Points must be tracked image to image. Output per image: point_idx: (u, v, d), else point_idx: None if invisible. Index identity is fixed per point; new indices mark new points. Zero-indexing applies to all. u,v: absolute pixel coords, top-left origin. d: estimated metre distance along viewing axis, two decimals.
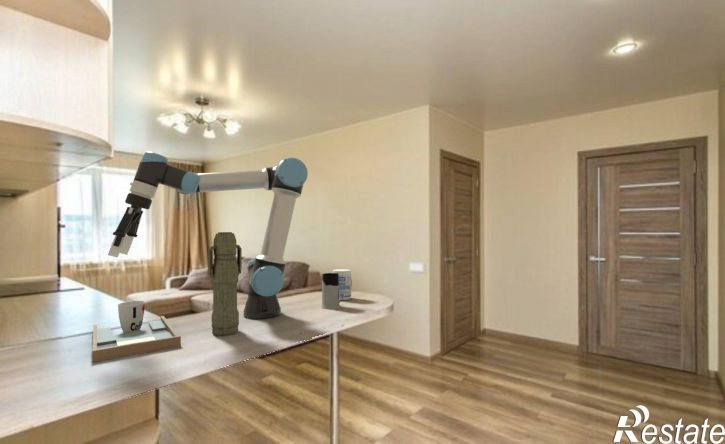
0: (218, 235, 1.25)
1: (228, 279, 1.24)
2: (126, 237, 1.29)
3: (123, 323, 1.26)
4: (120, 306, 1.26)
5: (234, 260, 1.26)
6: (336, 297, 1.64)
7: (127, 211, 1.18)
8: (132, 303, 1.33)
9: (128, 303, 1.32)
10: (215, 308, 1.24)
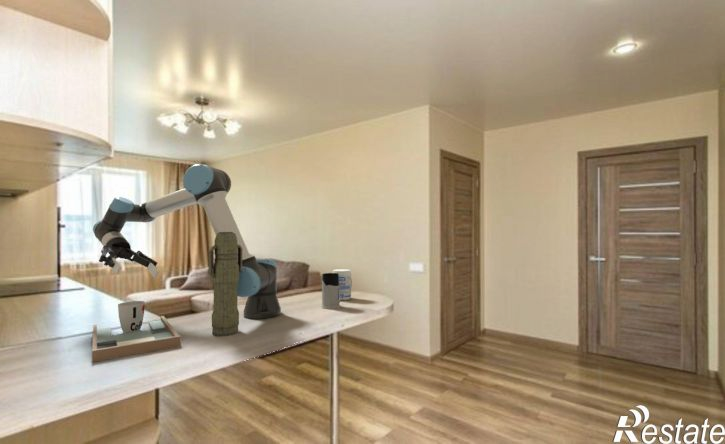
0: (219, 235, 1.25)
1: (229, 279, 1.24)
2: (148, 268, 1.40)
3: (123, 323, 1.26)
4: (120, 306, 1.26)
5: (235, 260, 1.26)
6: (336, 297, 1.64)
7: (102, 251, 1.33)
8: (132, 303, 1.33)
9: (128, 303, 1.32)
10: (215, 308, 1.24)
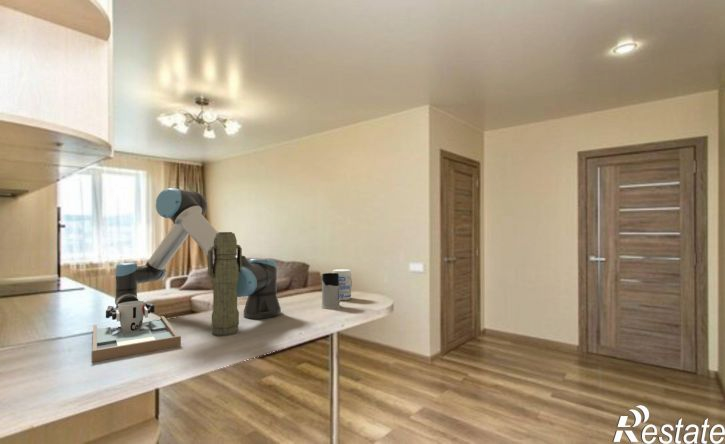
0: (218, 235, 1.25)
1: (229, 279, 1.24)
2: None
3: (123, 323, 1.26)
4: (120, 306, 1.26)
5: (234, 260, 1.26)
6: (336, 297, 1.64)
7: None
8: (132, 303, 1.33)
9: (128, 303, 1.32)
10: (215, 308, 1.24)
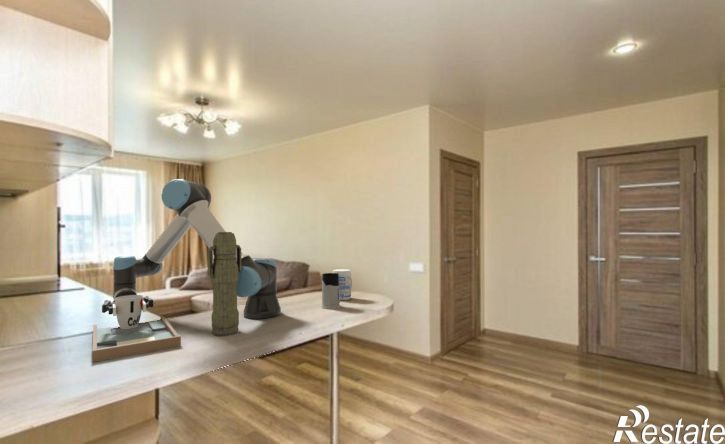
0: (218, 235, 1.25)
1: (228, 279, 1.24)
2: None
3: (120, 318, 1.20)
4: (117, 300, 1.20)
5: (234, 260, 1.26)
6: (336, 297, 1.64)
7: None
8: (130, 297, 1.27)
9: (125, 297, 1.26)
10: (215, 308, 1.24)
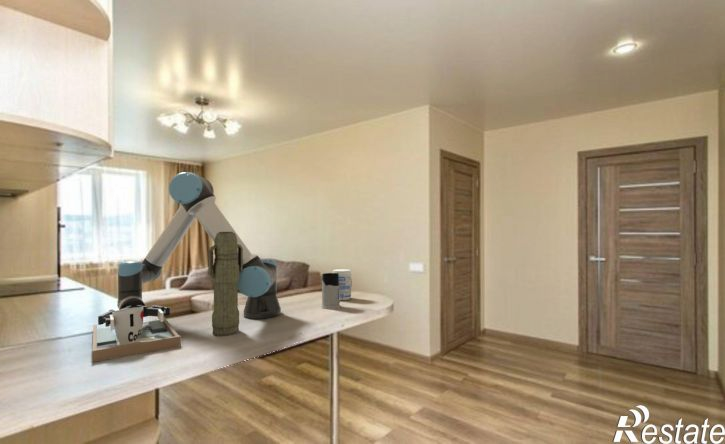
0: (219, 235, 1.24)
1: (229, 279, 1.23)
2: (158, 316, 1.18)
3: (119, 333, 1.09)
4: (115, 314, 1.09)
5: (235, 260, 1.26)
6: (336, 297, 1.64)
7: None
8: (129, 310, 1.16)
9: (124, 310, 1.15)
10: (215, 308, 1.24)
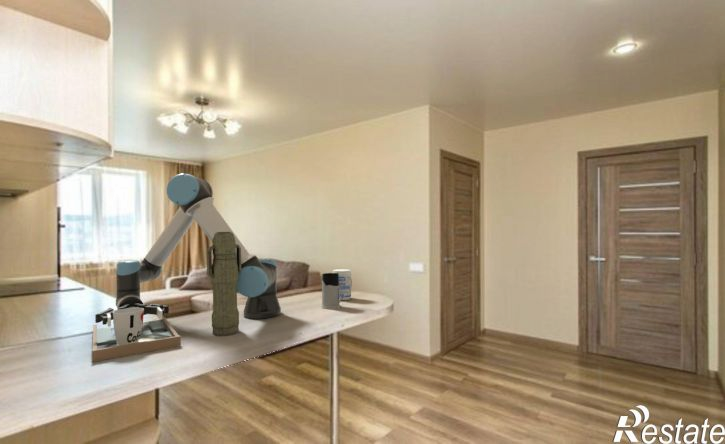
0: (217, 235, 1.24)
1: (228, 279, 1.23)
2: (157, 314, 1.21)
3: (118, 334, 1.09)
4: (115, 314, 1.09)
5: (233, 260, 1.26)
6: (336, 297, 1.64)
7: None
8: (129, 310, 1.16)
9: (124, 310, 1.15)
10: (215, 308, 1.24)
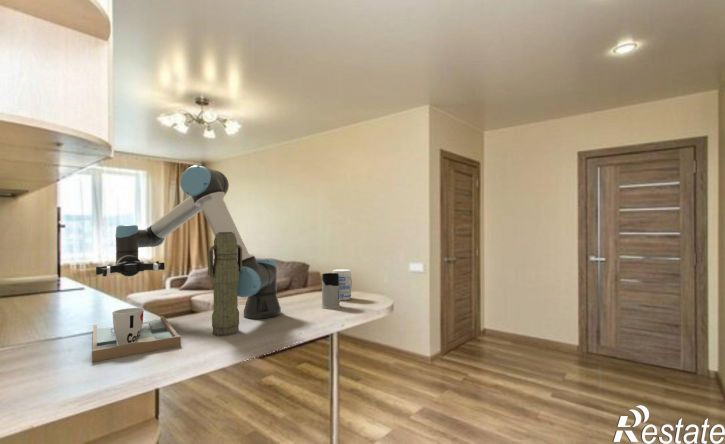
0: (218, 235, 1.25)
1: (228, 279, 1.24)
2: (153, 269, 1.29)
3: (118, 334, 1.09)
4: (115, 314, 1.08)
5: (234, 260, 1.26)
6: (336, 297, 1.64)
7: None
8: (129, 310, 1.16)
9: (124, 310, 1.15)
10: (215, 308, 1.24)
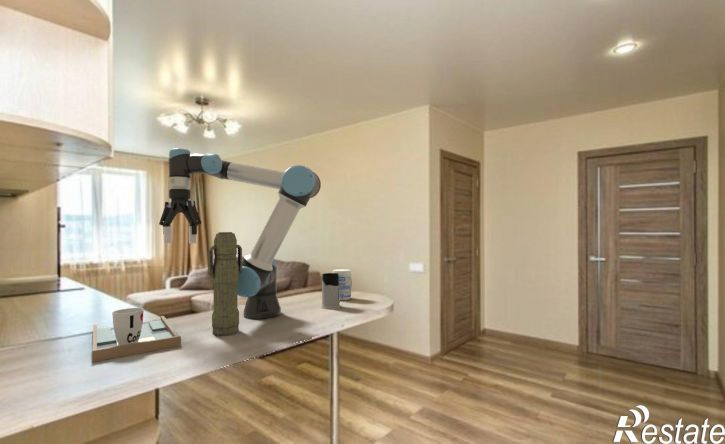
0: (218, 235, 1.25)
1: (228, 279, 1.24)
2: (166, 228, 1.44)
3: (118, 334, 1.09)
4: (115, 314, 1.08)
5: (234, 260, 1.26)
6: (336, 297, 1.64)
7: (191, 204, 1.39)
8: (129, 310, 1.16)
9: (124, 310, 1.15)
10: (215, 308, 1.24)
